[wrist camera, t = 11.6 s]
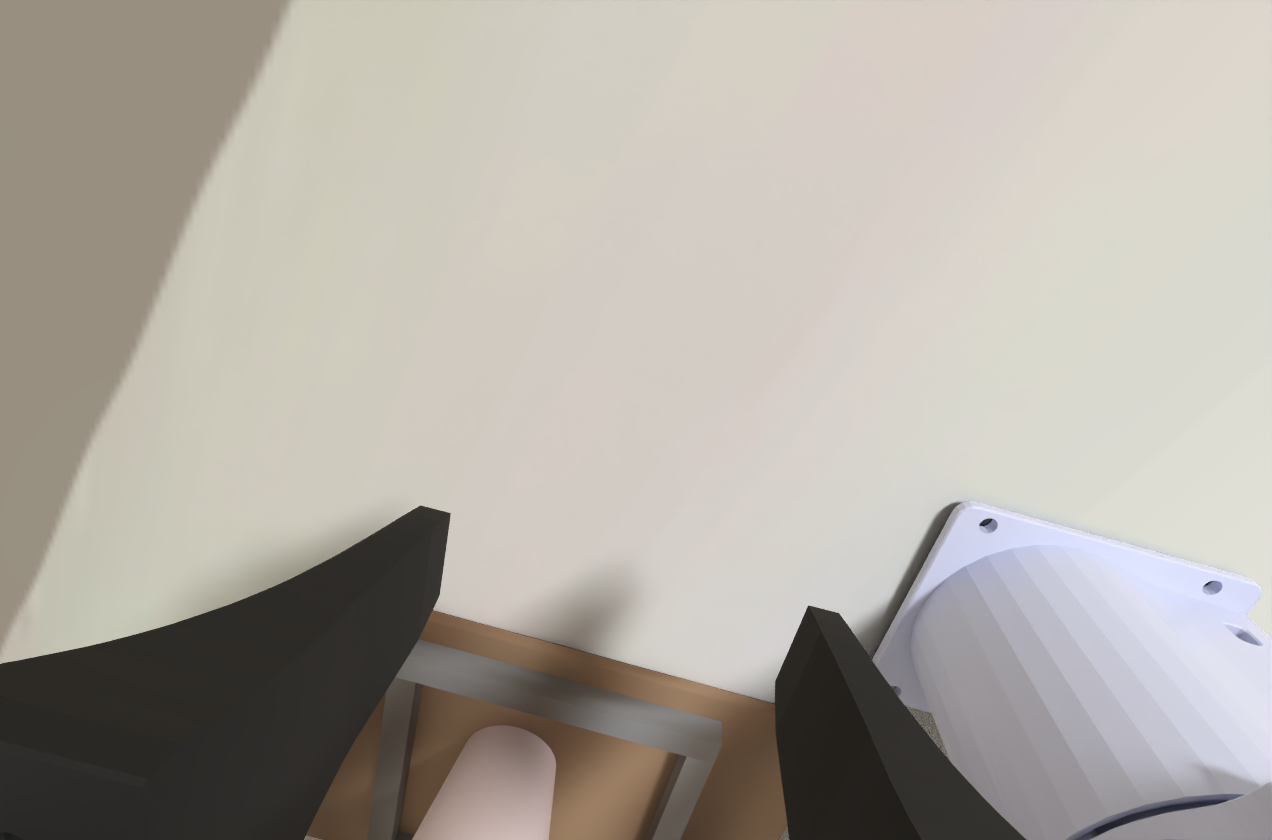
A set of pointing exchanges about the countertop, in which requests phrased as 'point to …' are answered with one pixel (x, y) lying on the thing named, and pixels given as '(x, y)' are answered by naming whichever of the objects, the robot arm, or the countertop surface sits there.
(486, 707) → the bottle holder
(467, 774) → the smoothie
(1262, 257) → the countertop surface
